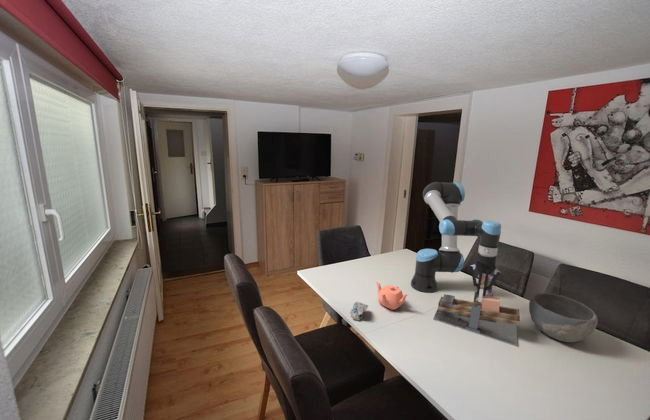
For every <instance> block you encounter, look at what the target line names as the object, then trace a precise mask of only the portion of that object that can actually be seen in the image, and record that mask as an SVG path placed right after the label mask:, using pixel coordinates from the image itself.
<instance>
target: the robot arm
mask: <svg viewBox="0 0 650 420" xmlns="http://www.w3.org/2000/svg"><path fill="white" fill-rule="evenodd" d="M465 195H466V192H465V188H464V186H463V185H462V184H461V183H460V182H459V183H458V182H445V181H443V182H442V181H441V182H438V181H434V182H431V183H429V184H428V185H426V186H425V187H424V188H423V191H422V198H423V199H422V200H424V202H425V204H426V205H429V207H430V208H431V211H433V213H434V215H435V217H436V218H437V219H438V221H439V225H438V229H439V232H440V234H441V246H440V248H439V249H438V251H437V250H436V249H433V248H423V249H420V250H419V251H417V253H416V257H415V260H416V261H415V270H414V275H413V276H412V278H411V281H410V287H411V288H413V289H414V290H416V291H417V292H418V291H419V292H422V293H430V294H431V293H434V292H436V291H437V289H438V285H437V280H436V273H452V274H453V273H459V272H460V271H461V270H462V269H463V267H464V266H465V265H464V264H465V257H464V255H463V253H461V250H460V248H458V236H460V237H461V236H464V237H465V236H466V237H478V238H479V244H478V250H477V252H478V253H477V259H476V262H475V264H470V266H469V270H470V271H471V279H472V286H474V287H475V288H476V291H477V294H478V295H479V298H478V302H482V296H485V295H486V290H491V288H492V289H493V286H494V285H495V282H496V281H497V278H498V277H499V276H500V275H501V271H500V270H498V269H497V266H496V262H497V256H498V251H499V244H500V239H501V233H502V224H501V223H500V222H497V221H494V220H484V221H482V220H481V219H477V218H472V219H470V220H464V219H462V220H461V219H458V209H459V207H460V205H461V203H462V202H464V200H465ZM476 269H477V271H478V272H479V273H478V275H479V278H478V281H477V275H476ZM492 273H493V275H492V276H493V278H492V280H491V282H490V284H489V286H487V283H488V276H489V275H491V274H492ZM482 274H486V276H485V282H484V288H482V287H480V286H481V280H482ZM495 280H496V281H495ZM477 283H478V284H477Z"/></svg>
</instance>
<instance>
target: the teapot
mask: <svg viewBox="0 0 650 420" xmlns="http://www.w3.org/2000/svg"><path fill="white" fill-rule="evenodd" d="M375 283H376V285H377V294H378V296H377V297H378V298H377V301H378V303H379V304H380V305H381V307H385V308H388V309H389V310H390V311H394V310H397V309H398V308H401V306H402V305H403V304H404V303H405V301H406V298H407V296H409V295H410V294H409V293H404V294H403V291H402V289H401V288H400V287H398V286H394V285H391V284H387V285H385V286H383V287H382V285H381V283H379V282H378V281H375Z"/></svg>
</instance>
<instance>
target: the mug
mask: <svg viewBox="0 0 650 420" xmlns="http://www.w3.org/2000/svg"><path fill="white" fill-rule="evenodd" d="M485 276H486V274H482V280H481V286H480V287H482V288H484V282H485ZM493 276H494V275H491V274H489V276H488V283H487V286H489V284H490V282H491V280H492V278H493ZM476 278H477V279H479V274H478V275H476ZM496 281H497V279H496V280H495V282H496ZM477 284H478V282H477ZM485 296H491V297H493V287H492V288H491V290H486V295H485Z"/></svg>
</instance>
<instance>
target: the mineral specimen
mask: <svg viewBox="0 0 650 420" xmlns="http://www.w3.org/2000/svg"><path fill="white" fill-rule="evenodd" d="M368 308H369V304H365V303H363V302H358V301H355V302H354V304H352V308H351V309H350V313H351V315H350V316H351V318H352V320H354V321H361V320H362V319H363V316H364V314H365V312H366V311H367V309H368Z"/></svg>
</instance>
